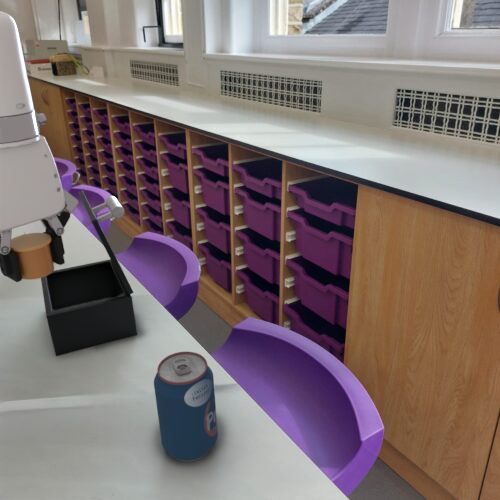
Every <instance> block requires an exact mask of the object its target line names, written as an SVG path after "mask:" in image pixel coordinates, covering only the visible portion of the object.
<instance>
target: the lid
mask: <svg viewBox="0 0 500 500" xmlns="http://www.w3.org/2000/svg"><path fill="white" fill-rule="evenodd" d="M77 193H78V195H79V198H80V200H81V203H82V204H83V206H84V209H85V211H86V213H87V215H88V218H89V219H90V221H91V224H92V226H93V228H94V229H95V232H96V233H97V236H98V238H99V239H100V241H101V243H102V245H103V247H104V249H105V251H106V253H107V255H108V257H109V260H110V259H111V261H112V263H113V265H114V267H115V269H116V271H117V272H118V274H119V276H120V278H121V280H122V282H123V284H124V286H125V288H126V290H127V292H128V294H129V295H130V294H131V295H132V294H134V290H133V288H132V286H131V284H130V283H129V280H128V278H127V276H126V274H125V272H124V270H123V268H122V265H121V264H120V262H119V260H118V258H117V256H116V254H115V252H114V251H113V248H112V246H111V244H110V242H109V241H108V238H107V236H106V235H105V232H104V230H103V228H102V226H101V224H100V223H101V222H104V221H106V220H108V219H110V218H113V217H114V218H115V219H121V218H123V216H124V215H125V208H124V207H123V205H122V204H121V203H120V201H119V200H118V198H117V197H116V196H114V195H109V196H106V199H105V201H104V202H103V203H101V204H98V205H96V206H94V207H91V205H90V203H89V201H88V199H87V197H86V195H85V193H84V191H83V190H80V191H78V192H77ZM104 209H108V211H109V212H107V213H104V214H102V215H99V216H97V217H96V214H95V213H97V212H100V211H102V210H104Z"/></svg>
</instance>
